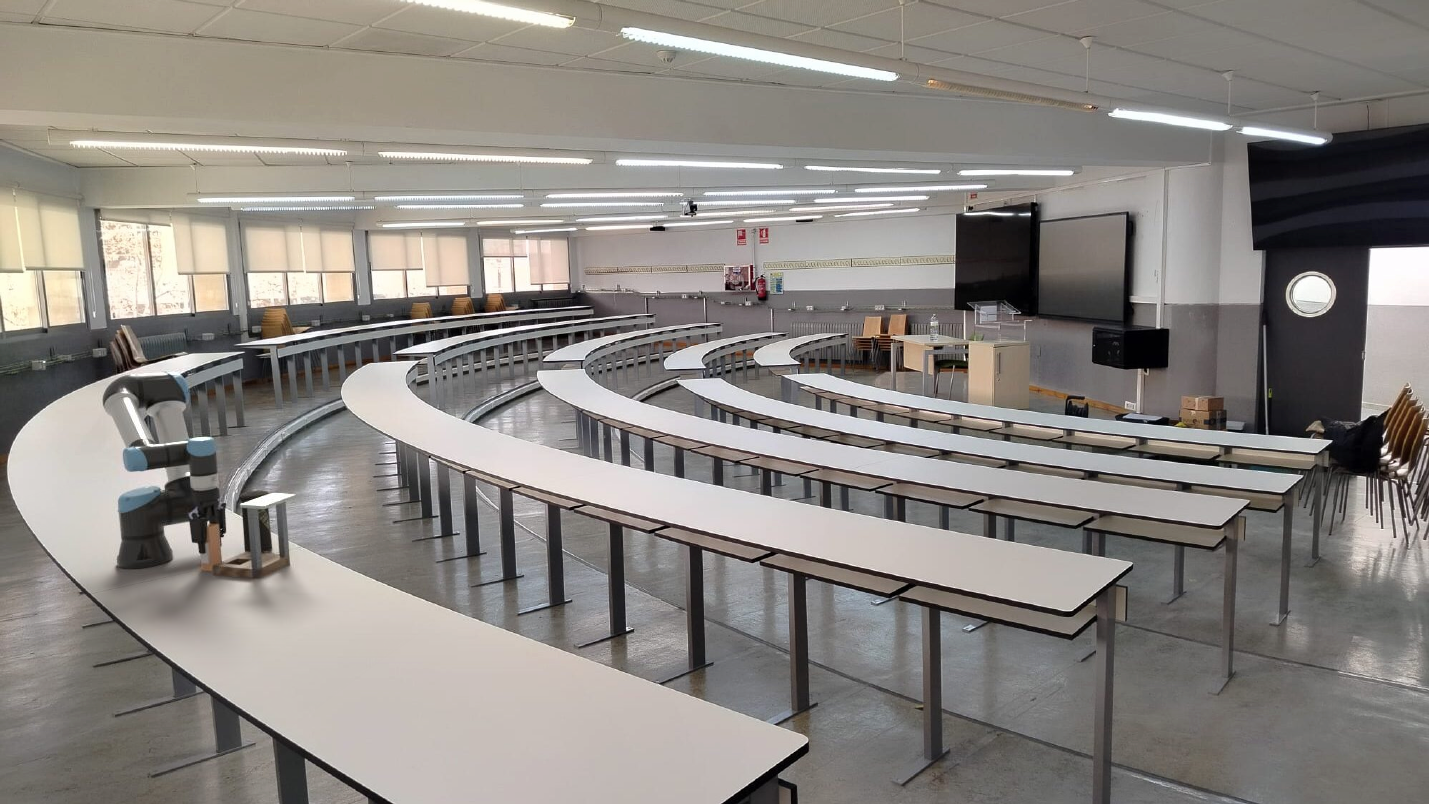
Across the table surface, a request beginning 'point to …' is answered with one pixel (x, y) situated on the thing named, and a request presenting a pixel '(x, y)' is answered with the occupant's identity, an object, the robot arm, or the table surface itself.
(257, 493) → the container
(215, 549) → the peg
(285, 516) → the white topped stool
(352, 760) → the table surface
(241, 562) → the socket board
